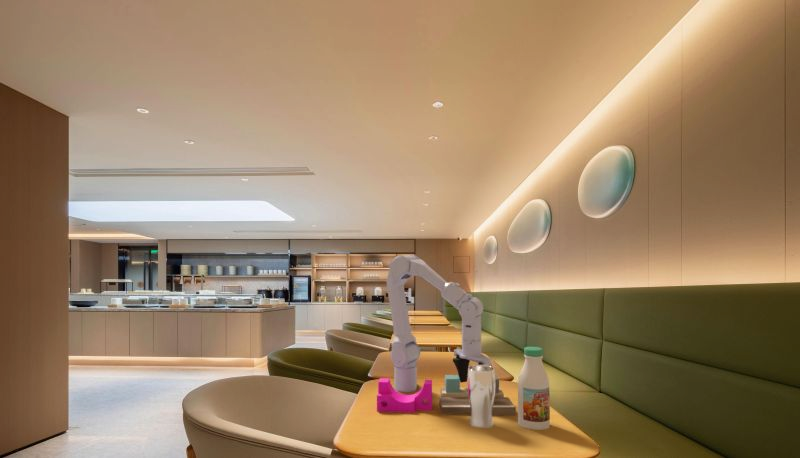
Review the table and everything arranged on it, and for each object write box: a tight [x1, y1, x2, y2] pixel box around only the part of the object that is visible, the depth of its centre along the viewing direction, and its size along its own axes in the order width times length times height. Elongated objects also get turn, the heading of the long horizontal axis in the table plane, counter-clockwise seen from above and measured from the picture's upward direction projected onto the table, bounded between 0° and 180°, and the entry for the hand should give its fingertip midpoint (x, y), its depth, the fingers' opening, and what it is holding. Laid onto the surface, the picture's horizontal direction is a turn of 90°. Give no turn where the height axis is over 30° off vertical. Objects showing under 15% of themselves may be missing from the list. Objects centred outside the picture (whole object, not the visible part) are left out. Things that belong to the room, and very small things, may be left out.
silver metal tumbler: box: [467, 364, 496, 429], centre depth 117 cm, size 7×7×15 cm
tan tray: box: [440, 387, 505, 397], centre depth 137 cm, size 5×18×3 cm, turn 90°
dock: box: [438, 396, 516, 416], centre depth 129 cm, size 8×20×2 cm, turn 90°
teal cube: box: [444, 374, 461, 393], centre depth 138 cm, size 4×4×4 cm
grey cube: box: [495, 374, 500, 393], centre depth 137 cm, size 4×4×4 cm
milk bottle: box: [517, 346, 551, 431], centre depth 117 cm, size 8×8×20 cm
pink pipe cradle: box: [376, 377, 433, 413], centre depth 130 cm, size 15×6×8 cm, turn 84°
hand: (471, 385), depth 137 cm, fingers open, 7 cm apart
